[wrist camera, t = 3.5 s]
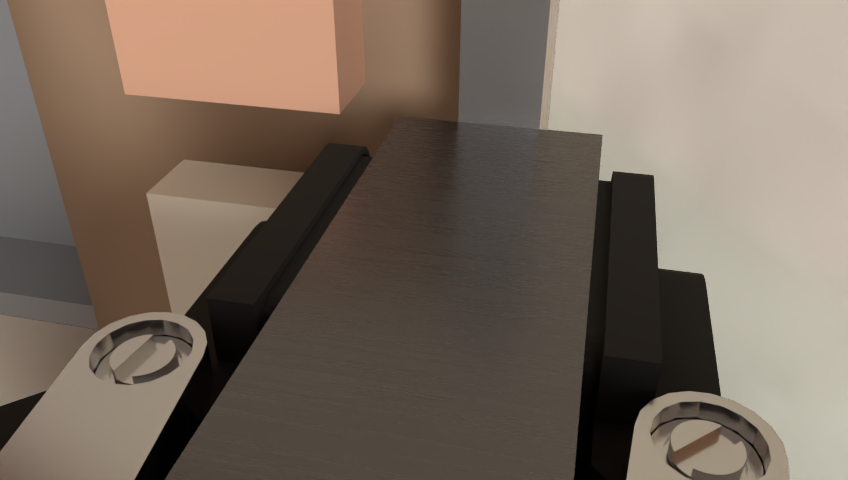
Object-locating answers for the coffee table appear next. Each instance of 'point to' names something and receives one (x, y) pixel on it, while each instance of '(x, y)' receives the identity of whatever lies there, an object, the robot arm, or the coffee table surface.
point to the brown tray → (201, 127)
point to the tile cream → (209, 219)
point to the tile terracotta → (242, 51)
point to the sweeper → (434, 296)
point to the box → (33, 207)
